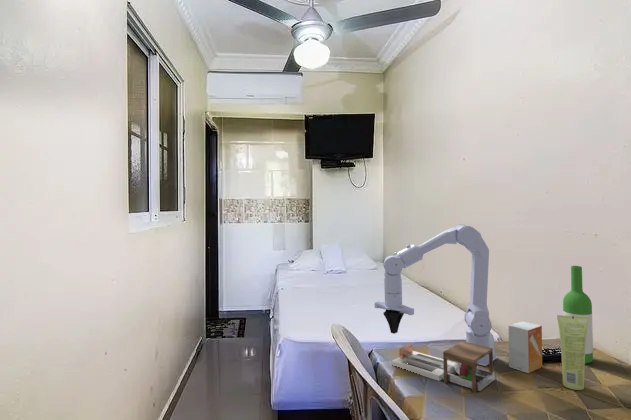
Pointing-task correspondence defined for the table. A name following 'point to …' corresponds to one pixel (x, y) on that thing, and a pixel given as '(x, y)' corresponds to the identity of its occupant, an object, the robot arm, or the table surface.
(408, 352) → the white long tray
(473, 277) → the robot arm
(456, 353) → the brown wooden stool
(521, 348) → the small box
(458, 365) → the geometric puzzle
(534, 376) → the table surface
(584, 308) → the wine bottle
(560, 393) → the table surface
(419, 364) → the pit board
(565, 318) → the tube
